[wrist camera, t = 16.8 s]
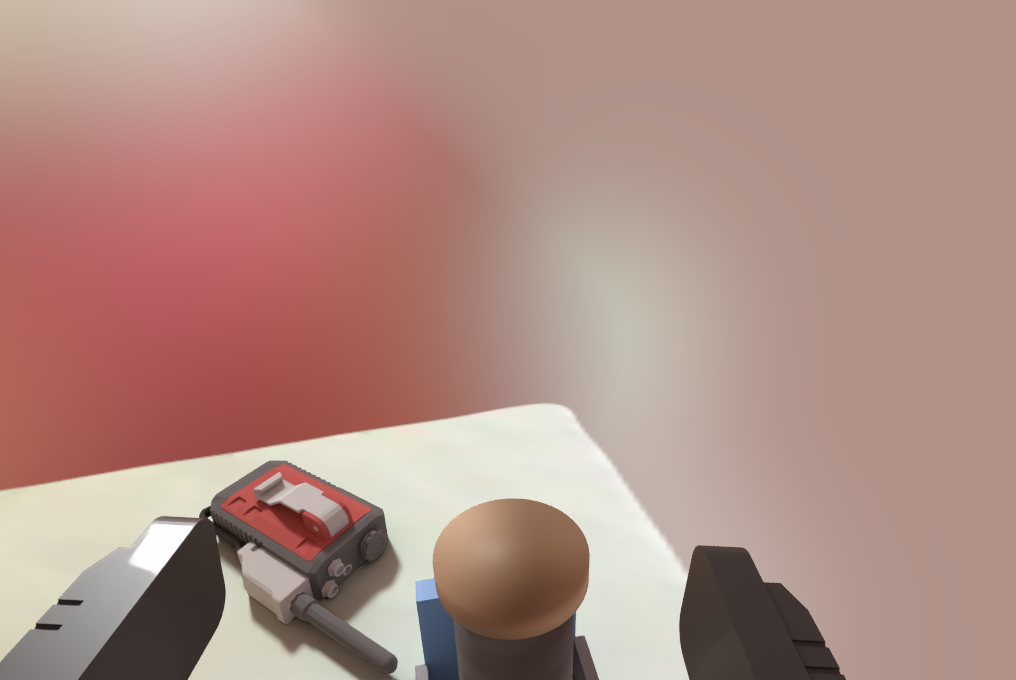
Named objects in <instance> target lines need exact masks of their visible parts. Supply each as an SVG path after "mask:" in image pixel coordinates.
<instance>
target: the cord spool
mask: <svg viewBox="0 0 1016 680" xmlns="http://www.w3.org/2000/svg"><path fill="white" fill-rule="evenodd" d="M433 569H434V577H435V585H436V591H437V594H438V597H439V600H440V602H441V604H442V606H443V608H444V609H445V610H446V612H447V613H448V614H449V615H450V616H451V617H452V618H453V622H454V632H455V641H456V650H457V660H458V669H459V679H460V680H572V677H573V633H574V613H575V612H576V610H577V609H578V608H579V606H580V605H581V603H582V601H583V600H584V597H585V594H586V592H587V587H588V580H589V548H588V544H587V541H586V538H585V536H584V534H583V532H582V531H581V529H580V528H579V527H578V525H577V524H576V523H575V522H574V521H573V520H572V519H571V518H570V517H568V516H567V515H566V514H564V513H563V512H561V511H560V510H558V509H556V508H554V507H552V506H549V505H547V504H544V503H541V502H537V501H532V500H527V499H500V500H494V501H489V502H486V503H482V504H479V505H477V506H474V507H472V508H470V509H468V510H466V511H464V512H463V513H461V514H460V515H458V516H457V517H456V518H454V519H453V520H452V521H451V522H450V523H449V524H448V525H447V526H446V527H445V529H444V530H443V531H442V533H441V534H440V536H439V538H438V540H437V542H436V545H435V548H434V553H433Z"/></svg>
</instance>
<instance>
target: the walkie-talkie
mask: <svg viewBox="0 0 1016 680" xmlns="http://www.w3.org/2000/svg"><path fill="white" fill-rule="evenodd" d="M210 516H212V519H213V522H214V523H213V522H212V521H211V522H212V523H213V526H214V529H215V534H216V535H217V536H219V537H220V538H222V539H223V540H225V541H226V542H228V543H229V544H231V545H232V546H234V547H235V548H236V549H237V554H238V557H239V560H240V564H241V565H242V577H243V580H244V583H245V587H246V590H247V593H248V594H249V595H250V596H251V597H253V598H254V599H255V600H257V601H258V602H260V603H261V604H262V605H264V606H265V607H266V608H268V609H269V610H271V611H272V612H273V613H275V614H276V616H277V619H278V620H280V621H281V622H282V623H284V624H288V623H289V622H290V621H291V620H292V619H293V618H295V617H298V618H299V619H300V620H302V621H303V622H309V623H311V624H312V625H314V626H315V627H317V628H318V629H319V630H321V631H322V632H324V633H325V634H327V635H328V636H329V637H331V638H332V639H334V640H335V641H337V642H338V643H339V644H341V645H342V646H344V647H345V648H347V649H348V650H349V651H351V652H353V653H355V654H356V655H358V656H359V657H360V658H362V659H363V660H365V661H366V662H368V663H369V664H371V665H372V666H373V667H375V668H376V669H378V670H379V671H381V672H382V673H385V674H390V673H393V672H394V671H395V670H396V668H397V663H398V661H397V658H396V657H395V655H393V654H392V653H390V652H389V651H387V650H386V649H384V648H383V647H381V646H380V645H378V644H377V643H375V642H374V641H372V640H371V639H369V638H368V637H366V636H365V635H364V634H362V633H361V632H359V631H358V630H356V629H355V628H353V627H352V626H350V625H349V624H347V623H346V622H344V621H343V620H341V619H340V618H338V617H337V616H335V615H334V614H332V613H331V612H329V611H328V610H326V609H325V608H323V607H322V606H320V605H319V601H317V600H318V599H323V598H324V597H327V596H328V597H329V598H333V597H334V596H335V595H336V594H337V592H338V590H339V588H338V585H339V584H340V583H341V582H342V581H343V580H344V579H346V578H347V577H348V576H349V575H350V574H351V573H352V572H353V571H354V570H356V569H357V568H358V567H359V566H360V565H361V564H362V563H363V562H364V561H366V560H367V561H373V560H376V559H377V558H378V557H379V556H380V555H381V554H382V553H383V551H384V549H385V548H386V545H387V541H388V535H387V529H386V523H385V517H384V512H383V509H381V508H379V507H377V506H375V505H373V504H371V503H369V502H367V501H365V500H363V499H361V498H359V497H357V496H355V495H353V494H351V493H349V492H347V491H345V490H343V489H341V488H339V487H336V486H335V485H332V484H331V483H330V482H326V481H325V480H322V479H321V478H320V477H316V475H312V474H311V473H310V472H306V470H302V469H301V468H298V467H297V466H296V465H292V463H289V462H287V461H268V462H266V463H265V464H263V465H262V466H260V467H258V468H257V469H255V470H254V471H252V472H250V473H249V474H247V475H246V476H244V477H243V478H241V479H239V480H238V481H236V482H235V483H233V484H232V485H230V486H228V487H227V488H225V489H224V490H222V491H220V492H219V493H218V494H217V495H216V496H215V497H214V498H213V500H212V503H211V506H209V507H207V508H205V509H203V510H202V511H201V513H200V515H199V518H206V519H207V518H208V517H210Z"/></svg>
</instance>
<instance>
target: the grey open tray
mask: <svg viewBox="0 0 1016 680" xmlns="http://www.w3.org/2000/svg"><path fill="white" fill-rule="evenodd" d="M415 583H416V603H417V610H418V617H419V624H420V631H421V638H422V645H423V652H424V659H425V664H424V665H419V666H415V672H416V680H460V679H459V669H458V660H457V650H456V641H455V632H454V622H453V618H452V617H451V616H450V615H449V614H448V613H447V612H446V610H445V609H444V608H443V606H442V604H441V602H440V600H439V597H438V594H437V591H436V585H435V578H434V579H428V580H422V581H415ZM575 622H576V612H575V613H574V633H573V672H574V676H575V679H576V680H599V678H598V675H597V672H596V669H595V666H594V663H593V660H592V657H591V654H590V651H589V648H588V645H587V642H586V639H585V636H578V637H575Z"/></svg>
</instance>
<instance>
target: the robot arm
mask: <svg viewBox="0 0 1016 680" xmlns="http://www.w3.org/2000/svg"><path fill="white" fill-rule="evenodd" d="M225 595H226V591H225V583H224V578H223V572H222V567H221V561H220V556H219V550H218V545H217V540H216V534H215V529H214V526H213V523H212V522H211V521H210V520H209V519H206V518H186V517H167V516H162V517H159V518H157V519H155V520H154V521H153V522H152V523H151V524H150V525H149V526H148V527H147V528H146V530H145V531H144V532H143V533H142V534H141V535H140V536H139V538H138V539H137V540H136V541H135V542H134V543H133V545H132V546H131V547H130V548H123V547H119V548H118V549H116V550H115V551H113V552H112V553H110V554H109V555H107V556H106V557H104V558H103V559H101V560H100V561H98V562H97V563H95V564H94V565H92V566H91V567H89V568H88V569H86V570H85V571H84V572H83V573H82V574H81V575H80V576H79V577H78V578H77V579H76V580H75V581H74V583H73V584H72V585H71V586H70V587H69V588H68V589H67V590H66V591H65V592H64V593H63V595H62V596H61V597H60V598H59V599H58V603H57V605H52V606H51V608H50V609H49V610H48V611H47V612H46V613H45V614H44V615H43V616H42V617H41V618H40V620H39V621H38V622H37V623H36V627H35V629H34V630H29V631H28V633H27V634H26V635H25V636H24V637H23V638H22V639H21V640H20V641H19V642H18V643H17V645H16V646H15V647H14V648H13V649H12V650H11V651H10V652H9V653H8V654H7V655H6V656H5V658H4V659H3V660H2V661H1V662H0V680H188V678H189V676H190V674H191V673H192V671H193V669H194V667H195V666H196V664H197V662H198V661H199V659H200V657H201V655H202V654H203V652H204V650H205V648H206V647H207V645H208V643H209V641H210V640H211V638H212V636H213V634H214V633H215V631H216V629H217V627H218V625H219V622H220V620H221V617H222V613H223V610H224V605H225ZM679 631H680V643H681V649H682V654H683V658H684V662H685V665H686V669H687V672H688V676H689V679H690V680H846V679H845V677H844V675H841V674H840V672H839V666H838V664H837V662H836V660H835V659H834V657H833V655H832V653H831V651H830V649H829V648H826V647H825V641H824V639H823V637H822V635H821V633H820V631H819V629H818V628H817V626H816V624H815V622H814V620H813V618H812V617H811V615H810V613H809V611H808V610H807V609H806V608H805V607H804V606H803V605H802V604H801V603H800V602H799V601H798V600H797V599H796V598H795V597H794V596H793V595H792V594H791V593H790V592H789V591H788V590H787V589H786V588H785V587H784V586H783V585H782V584H781V583H764V582H763V581H762V578H761V576H760V575H759V573H758V570H757V568H756V566H755V564H754V562H753V560H752V558H751V556H750V554H749V553H748V551H747V550H746V549H744V548H739V547H719V546H700V545H699V546H697V547H695V549H694V551H693V555H692V559H691V564H690V569H689V574H688V579H687V583H686V588H685V593H684V598H683V603H682V607H681V613H680V623H679Z"/></svg>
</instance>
